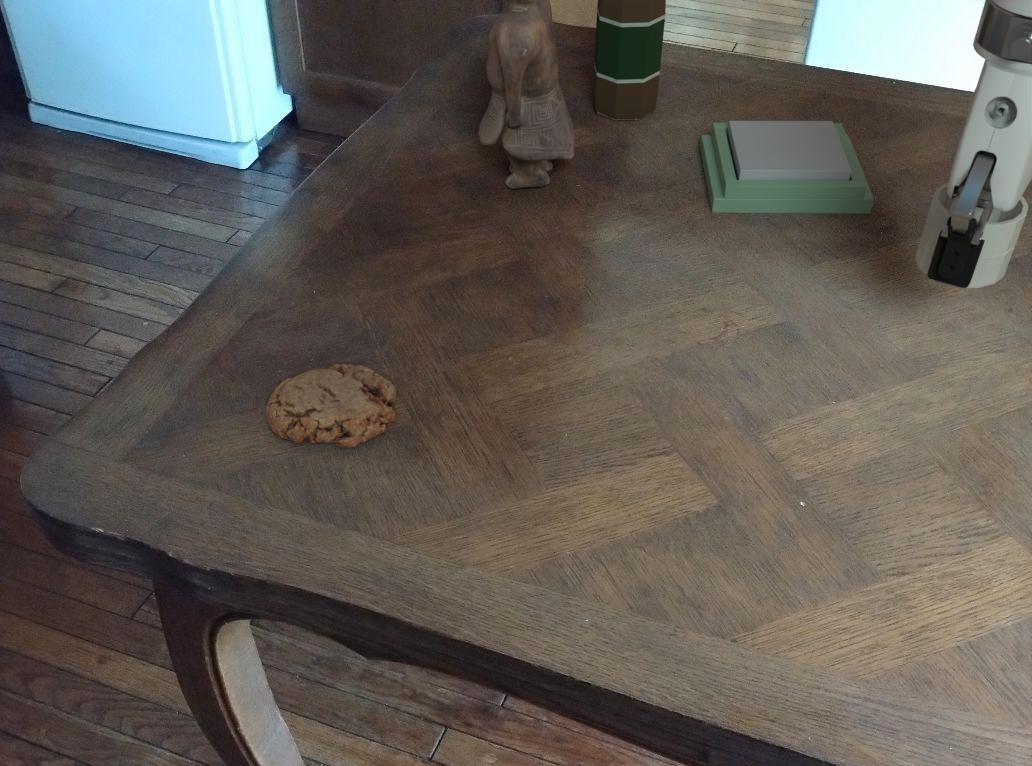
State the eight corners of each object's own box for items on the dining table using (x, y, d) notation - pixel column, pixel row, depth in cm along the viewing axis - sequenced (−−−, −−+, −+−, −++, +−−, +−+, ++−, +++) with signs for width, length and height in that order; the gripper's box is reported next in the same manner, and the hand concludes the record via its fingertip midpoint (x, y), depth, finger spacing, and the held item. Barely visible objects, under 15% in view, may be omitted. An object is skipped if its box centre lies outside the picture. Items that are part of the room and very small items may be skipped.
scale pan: (829, 132, 114) (832, 120, 113) (848, 183, 107) (851, 170, 106) (726, 132, 115) (728, 120, 114) (738, 182, 107) (740, 170, 106)
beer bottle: (610, 128, 122) (626, -109, 104) (579, 101, 126) (589, -129, 109) (669, 114, 124) (694, -120, 106) (636, 88, 129) (655, -140, 111)
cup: (989, 246, 88) (1013, 178, 83) (1013, 293, 83) (1039, 224, 79) (905, 246, 88) (924, 179, 84) (924, 293, 83) (946, 225, 79)
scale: (845, 148, 117) (851, 122, 115) (870, 214, 107) (877, 186, 105) (699, 148, 118) (702, 122, 116) (711, 213, 108) (715, 185, 106)
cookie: (254, 399, 89) (248, 371, 87) (373, 366, 92) (370, 337, 89) (289, 473, 83) (283, 444, 80) (415, 434, 85) (413, 405, 83)
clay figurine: (490, 147, 119) (485, -104, 101) (579, 152, 118) (590, -102, 99) (471, 206, 110) (461, -58, 92) (567, 211, 109) (576, -55, 91)
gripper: (1065, 90, 65) (979, 328, 78) (1123, -7, 75) (1038, 219, 88) (943, 65, 68) (879, 299, 81) (1014, -25, 78) (947, 197, 91)
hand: (962, 256), depth 85 cm, fingers closed on cup, 7 cm apart
